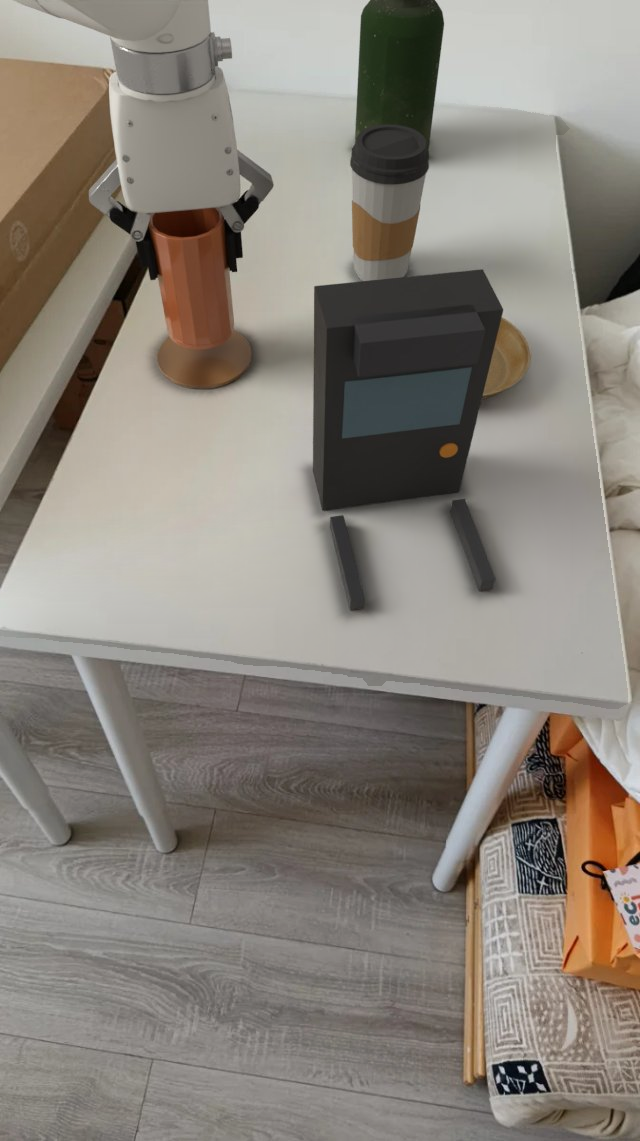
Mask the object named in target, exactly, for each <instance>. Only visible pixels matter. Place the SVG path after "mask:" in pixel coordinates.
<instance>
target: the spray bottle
mask: <svg viewBox="0 0 640 1141" xmlns="http://www.w3.org/2000/svg"><path fill="white" fill-rule="evenodd" d="M359 27H360V28H359V45H358V47H359V48H358V67H357V69H358V70H357V87H356V88H357V89H356V110H355V111H356V112H355V130H354V131H355V132H354V144H355V143H356V138H357V136H358V135H359V133H361V132H362V131H363V130H365V129H367V128H369V127H373V126H377V125H386V124H390V125H401V126H406V127H409V128H412V129H414V130H416V131H418V132H420V133H421V134H422V135H423V136H424V137H425V139H426V147H427V149H428V151H430V150H429V149H430V141H431V134H432V126H433V125H432V124H433V118H434V109H435V102H436V94H437V84H438V76H439V69H440V62H441V55H442V54H441V53H442V47H443V46H442V44H443V37H444V30H445V29H444V28H445V18H444V12H443V10H442V8H441V7H440V5H439V3H438V2H437V1H436V0H369V1H368V2H367V3H366V5H365V6H364V7H363V9H362V12H361V15H360V26H359Z"/></svg>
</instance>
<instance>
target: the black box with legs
mask: <svg viewBox="0 0 640 1141" xmlns="http://www.w3.org/2000/svg"><path fill="white" fill-rule="evenodd" d="M503 313H504V308H503V306H502V303H501V302H500V300H499V298H498V296H497V294H496V292H495V290H494V288H493V285H491V282H490V280H489V278H488V277H487V274H486V273H485V271H484V269H483V268H482V269H481V268H480V269H472V270H462V271H461V270H460V271H452V272H442V273H432V274H431V273H430V274H420V275H413V276H412V275H410V276H404V277H401V278H390V279H380V280H370V281H362V280H361V281H353V282H352V281H351V282H341V283H331V284H322V285H321V284H320V285H314V286H313V381H312V382H313V385H312V386H313V388H312V390H313V391H312V392H313V393H312V394H313V396H312V397H313V398H312V399H313V400H312V401H313V402H312V404H313V405H312V407H313V408H312V421H313V422H312V473H313V477H314V482H315V486H316V490H317V494H318V499H319V502H320V506H321V510H322V511H328V510H336V509H342V508H352V507H357V506H359V507H360V506H365V505H366V506H367V505H373V504H374V505H375V504H381V503H388V502H389V503H390V502H396V501H405V500H410V499H411V500H412V499H418V498H425V497H433V496H434V497H435V496H440V495H449V494H455V493H460V491H461V486H462V483H463V479H464V474H465V471H466V466H467V462H468V458H469V454H470V451H471V450H470V449H471V446H472V441H473V437H474V433H475V430H476V424H477V420H478V416H479V412H480V408H481V404H482V400H483V399H482V396H483V392H484V388H485V384H486V380H487V376H488V371H489V367H490V363H491V359H492V355H493V351H494V347H495V343H496V338H497V334H498V330H499V326H500V322H501V318H503ZM449 512H450V514H451V517H452V518H451V519H452V520H453V523H454V525H455V529H456V532H457V534H458V537H459V539H460V542H461V545H462V547H463V551H464V553H465V556H466V559H467V562H468V564H469V567H470V570H471V573H472V575H473V578H474V581H475V584H476V587H477V589H478V592H483V591H484V592H485V591H491V590H493V589H494V586H495V583H496V580H497V579H496V575H495V574H494V571H493V569H492V566H491V563H490V561H489V558H488V555H487V552H486V550H485V547H484V544H483V543H482V539H481V537H480V534H479V531H478V529H477V526H476V524H475V521H474V519H473V516H472V513H471V511H470V508H469V505H468V503H467V501H466V498H461V499H459V498H458V499H452V501H451V504H450V508H449ZM329 530H330V534H331V538H332V542H333V546H334V550H335V555H336V560H337V564H338V567H339V572H340V575H341V579H342V584H343V588H344V592H345V595H346V600H347V605H348V609H349V611H356V610H362V609H364V608H365V600H366V599H365V594H364V590H363V585H362V582H361V579H360V574H359V571H358V566H357V563H356V560H355V555H354V551H353V548H352V542H351V540H350V535H349V533H348V527H347V525H346V521H345V516H344V515H342V514H341V515H334V516H330V517H329Z"/></svg>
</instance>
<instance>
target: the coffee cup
mask: <svg viewBox="0 0 640 1141" xmlns="http://www.w3.org/2000/svg"><path fill="white" fill-rule="evenodd" d="M429 160H430V150H428V149H427V147H426V139H425V137H424V136H423V135H422V134H421V133H420V132H418V131H416V130H414V129H412V128H409V127H406V126H401V125H390V124H386V125H377V126H373V127H369V128H367V129H365V130H363V131H362V132H361V133H359V135H358V136H357V138H356V143H355V142H354V145H352V147H351V156H350V160H349V166H350V167H351V179H352V180H351V182H352V183H351V187H352V189H351V190H352V200H351V225H352V227H351V228H352V248H353V269H354V272H355V273H356V275H357V277H358V278H359V279H360V280H361V281H370V280H380V279H390V278H401V277H405V275H407V272H408V270H409V265H410V261H411V255H412V250H413V247H414V243H415V237H416V232H417V226H418V220H419V216H420V212H421V202H422V196H423V192H424V186H425V182H426V174H427V173H428V171H429V169H430V162H429Z"/></svg>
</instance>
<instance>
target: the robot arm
mask: <svg viewBox="0 0 640 1141" xmlns="http://www.w3.org/2000/svg"><path fill="white" fill-rule="evenodd" d="M13 1H14V2H16V3H18V4H20V5H21V6H25V7H28V8H31V9H34V10H37V11H39V12H42V13H45V14H47V15H50V16H53V17H55V18H58V19H63V20H66V21H69V22H72V23H74V24H77V25H80V26H82V27H85V28H88V29H91V30H93V31H96V32H98V33H101V34H102V35H103V34H104V35H106V36H109V39H110V45H111V50H112V56H113V61H114V68H115V71H114V72H112V73H111V74H110V75H109V78H108V97H109V98H108V100H109V113H110V123H111V131H112V138H113V144H114V152H115V158H116V159H115V160H114V161H112V163H111V164H110V166H108V167H107V168H106V170H105V171H104V172H103V173H102V175H101V176H99V178H98V179H97V180H96V181H95V182H94V184H93V185H91V187H90V188H89V189H88V201H89V203H90V205H92V206H93V207H94V208H96V209H97V210H98V211H99V212H100V213H102V214H103V215H104V216H107V217H108V219H109V220H110V221H111V222H112V223H113V224H114V225H116V227H119V228H120V229H121V230H123V231H125V233H127V234H128V235H130V238H131V240H133V241H134V242H135V246H136V251H137V255H138V260H139V261H138V262H139V265H140V268H147V270H148V274H149V275H148V276H149V280H150V281H156V280H157V279H158V275H157V269H156V263H155V258H154V252H153V247H152V241H151V236H150V231H149V222H150V219H151V216H152V213H161V212H174V211H185V210H196V209H207V208H218V209H219V211H220V212H221V214H222V215H223V217H224V220H225V232H226V242H227V252H228V263H229V272H231V273H237V272H238V265H237V264H238V262H237V259H244V253H243V241H242V231H243V230H244V229H245V224H246V223H247V222H248V221H249V220H250V219H251V218H252V217H253V215H254V214H255V213H256V212H257V211H258V210H259V207H260V204H261V203H262V202H264V200H265V199H266V198H267V196H268V195H269V194H270V192H271V191H272V190H273V188H274V185H275V184H274V180H273V177H272V174H271V173H269V172H268V171H267V170H265V169H264V168H263V167H261V166H260V165H259V164H258V163H256V162H255V161H253V160H252V159H250V157H248V156H247V155H245V154H244V153H243V152H241V151H240V150H239V149H238V145H237V144H238V143H237V138H236V131H235V124H234V117H233V111H232V105H231V100H230V94H229V90H228V85H227V82H226V78H225V75H224V72H223V69H222V68H221V67H220V66H219V62H224V60H232V59H233V48H232V41H231V40H232V39H231V38H230V37H227V38H226V37H224V38H223V37H222V38H221V36H216V33H215V31H213V32H212V31H211V28H212V27H211V17H210V7H209V5H210V4H209V0H13ZM241 177H242V178H244V179H245V180H246V181H248V182H249V183H251V185H250V186H249V189H247V190H246V191H245V192H243V194H241ZM119 187H121V192H122V196H123V200H124V203H125V204H123V203H121V202H119V201H118V200H115V199H114V197H113V196H112V195H113V194H114V193H115V191H116V190H117V189H118V188H119Z"/></svg>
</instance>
